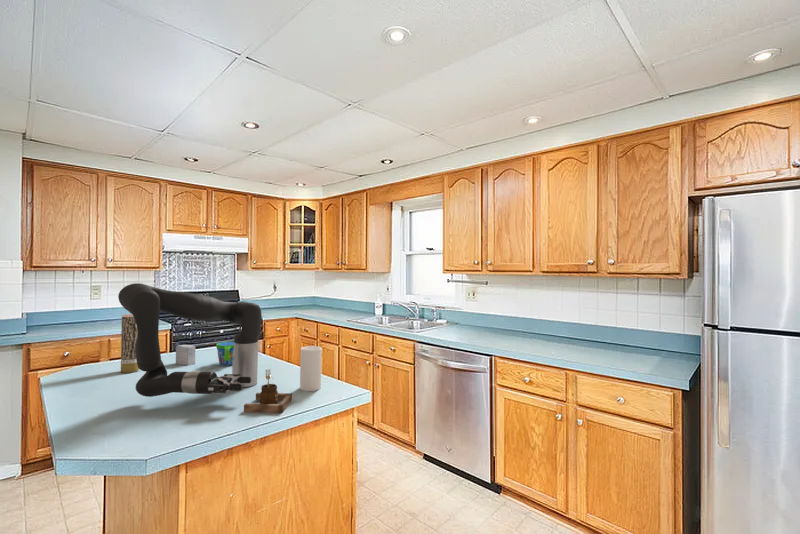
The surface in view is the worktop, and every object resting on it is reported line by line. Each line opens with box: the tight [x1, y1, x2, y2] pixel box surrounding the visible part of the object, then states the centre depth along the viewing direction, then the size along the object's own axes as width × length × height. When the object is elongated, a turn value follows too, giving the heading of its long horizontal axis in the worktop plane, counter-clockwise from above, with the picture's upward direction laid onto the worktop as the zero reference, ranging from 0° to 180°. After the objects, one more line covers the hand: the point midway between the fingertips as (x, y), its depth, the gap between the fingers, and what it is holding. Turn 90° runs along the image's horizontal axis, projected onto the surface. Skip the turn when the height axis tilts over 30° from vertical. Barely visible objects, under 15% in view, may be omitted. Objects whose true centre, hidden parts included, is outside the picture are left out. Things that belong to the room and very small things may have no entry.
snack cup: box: [215, 341, 234, 367], centre depth 196 cm, size 16×10×10 cm
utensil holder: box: [259, 368, 279, 404], centre depth 141 cm, size 6×6×12 cm
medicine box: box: [175, 344, 196, 366], centre depth 195 cm, size 8×4×9 cm, turn 71°
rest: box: [243, 392, 293, 414], centre depth 141 cm, size 13×13×2 cm
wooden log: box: [120, 313, 140, 374], centre depth 180 cm, size 7×7×25 cm
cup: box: [299, 345, 323, 392], centre depth 163 cm, size 8×8×16 cm
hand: (246, 383), depth 141 cm, fingers open, 8 cm apart
